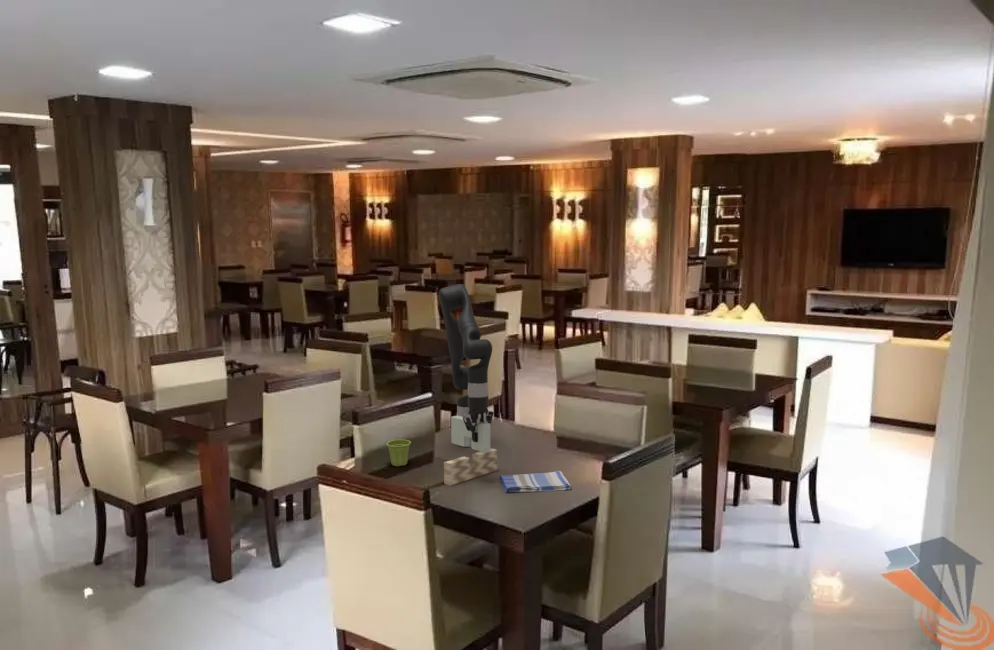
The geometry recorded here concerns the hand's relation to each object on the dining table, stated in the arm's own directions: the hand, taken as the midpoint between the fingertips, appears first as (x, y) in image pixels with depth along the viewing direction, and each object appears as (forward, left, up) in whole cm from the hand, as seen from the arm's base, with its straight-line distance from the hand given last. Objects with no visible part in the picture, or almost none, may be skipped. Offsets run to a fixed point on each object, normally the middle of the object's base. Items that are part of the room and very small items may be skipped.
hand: (478, 440), depth 266 cm
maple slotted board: (0, -4, -15) cm, 15 cm away
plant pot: (+9, -36, -15) cm, 40 cm away
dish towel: (-11, +18, -15) cm, 26 cm away
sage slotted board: (0, -5, -3) cm, 5 cm away
